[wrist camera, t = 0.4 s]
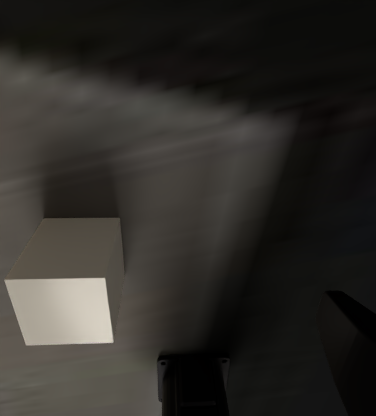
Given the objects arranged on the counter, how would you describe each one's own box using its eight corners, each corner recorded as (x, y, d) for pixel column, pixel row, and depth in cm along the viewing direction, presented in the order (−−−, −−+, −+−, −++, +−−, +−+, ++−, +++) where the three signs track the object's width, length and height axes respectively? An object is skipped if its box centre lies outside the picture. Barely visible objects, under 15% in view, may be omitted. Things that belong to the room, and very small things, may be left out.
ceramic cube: (125, 274, 24) (113, 342, 19) (57, 275, 24) (26, 345, 19) (119, 217, 22) (105, 277, 16) (43, 217, 21) (4, 279, 16)
